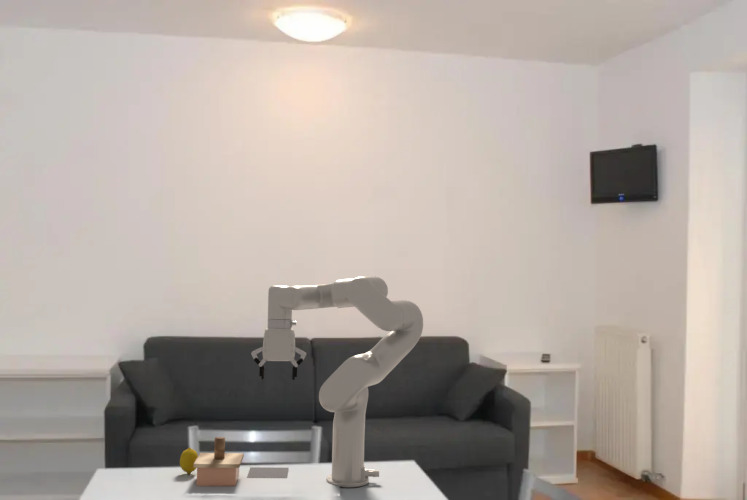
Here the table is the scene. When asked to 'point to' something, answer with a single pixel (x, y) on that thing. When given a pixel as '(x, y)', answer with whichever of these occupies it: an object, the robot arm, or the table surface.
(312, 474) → the table surface
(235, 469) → the pink open box
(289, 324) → the robot arm
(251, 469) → the mat
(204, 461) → the lid
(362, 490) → the table surface
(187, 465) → the lemon
